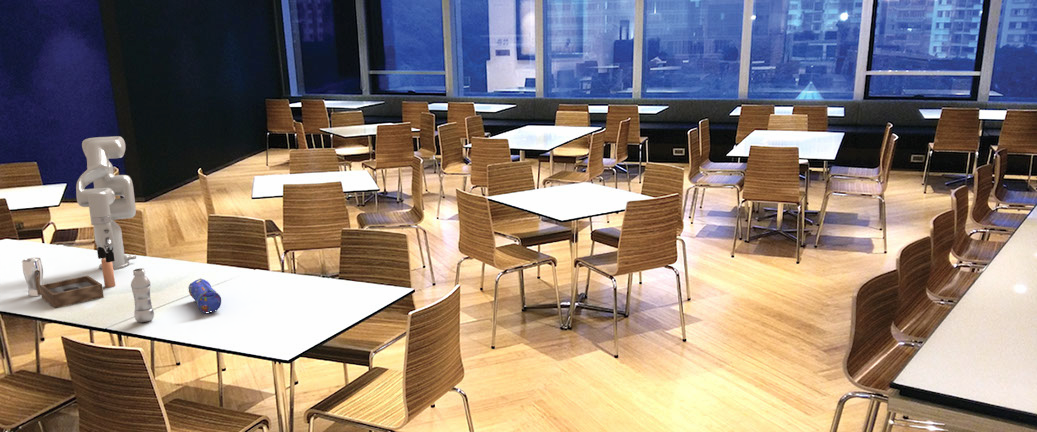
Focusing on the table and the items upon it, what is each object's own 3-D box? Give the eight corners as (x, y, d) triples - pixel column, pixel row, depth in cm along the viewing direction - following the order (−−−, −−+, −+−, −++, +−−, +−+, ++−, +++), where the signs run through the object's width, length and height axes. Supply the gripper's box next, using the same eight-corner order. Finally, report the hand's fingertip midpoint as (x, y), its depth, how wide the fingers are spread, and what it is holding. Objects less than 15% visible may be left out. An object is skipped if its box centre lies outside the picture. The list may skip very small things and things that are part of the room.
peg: (113, 284, 337) (109, 257, 335) (116, 286, 335) (113, 259, 332) (103, 286, 335) (99, 259, 332) (106, 288, 332) (103, 261, 329)
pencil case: (189, 300, 315) (186, 278, 312) (211, 297, 319) (209, 274, 317) (199, 316, 296) (197, 292, 294) (223, 312, 301) (220, 288, 299)
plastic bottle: (139, 318, 295) (132, 267, 290) (157, 317, 295) (151, 267, 291) (132, 324, 288) (125, 272, 284) (151, 323, 289) (144, 272, 284)
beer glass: (50, 293, 327) (45, 258, 323) (34, 298, 320) (28, 262, 317) (39, 291, 329) (34, 256, 326) (23, 295, 323) (17, 261, 320)
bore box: (89, 287, 333) (87, 275, 331) (103, 297, 320) (102, 284, 319) (41, 298, 320) (39, 285, 319) (54, 308, 308) (52, 294, 306)
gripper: (117, 221, 325) (123, 261, 328) (103, 216, 337) (108, 255, 340) (98, 224, 319) (103, 265, 323) (84, 219, 331) (90, 258, 335)
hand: (106, 259), depth 331 cm, fingers open, 9 cm apart
